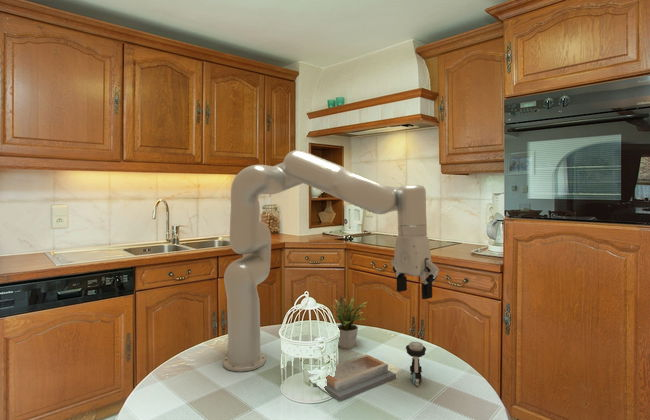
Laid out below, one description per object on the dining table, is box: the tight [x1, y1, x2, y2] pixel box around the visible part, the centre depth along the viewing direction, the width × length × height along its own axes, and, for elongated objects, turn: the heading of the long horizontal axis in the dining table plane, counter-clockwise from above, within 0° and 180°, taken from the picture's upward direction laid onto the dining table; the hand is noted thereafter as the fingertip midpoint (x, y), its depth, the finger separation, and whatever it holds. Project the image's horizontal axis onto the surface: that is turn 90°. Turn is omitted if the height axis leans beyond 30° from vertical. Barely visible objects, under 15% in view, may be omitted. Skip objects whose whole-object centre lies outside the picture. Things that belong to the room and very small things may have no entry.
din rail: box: [326, 353, 389, 392], centre depth 108 cm, size 9×18×2 cm, turn 127°
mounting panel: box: [324, 369, 397, 402], centre depth 108 cm, size 13×20×1 cm, turn 127°
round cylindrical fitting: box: [405, 341, 427, 386], centre depth 107 cm, size 7×5×10 cm
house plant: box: [331, 296, 368, 349], centre depth 131 cm, size 14×14×16 cm
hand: (414, 294), depth 106 cm, fingers open, 9 cm apart
